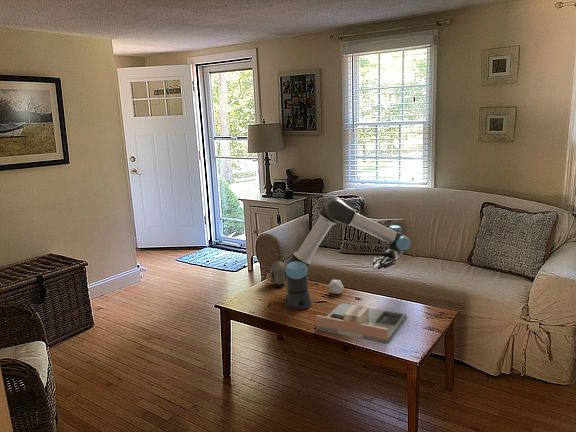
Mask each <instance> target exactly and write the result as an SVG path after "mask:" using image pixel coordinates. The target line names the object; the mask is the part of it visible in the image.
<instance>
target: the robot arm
mask: <svg viewBox="0 0 576 432" xmlns="http://www.w3.org/2000/svg"><path fill="white" fill-rule="evenodd" d="M319 210H320V211H319V212H318V216H319V217H318V218H317V220H316V221H315V223H314V225H313V226H312V228H311V229H310V231H309V233H308V234H307V236H306V237H305V239H304V241H303V242H302V244H301V245H300V247H299V248H298V250H297V251H294V252H293V253H292V255H291V256H290V257H289V258H288V259H287V260H286V261H285V263H284V264H285V272H286V279H287V281H286V295H285V300H284V306H285V308H287V309H289V310H291V311H292V310H293V311H301V310H307V309H309V308H311V307H312V305H313V299H312V297H311V294H310V292H309V285H308V284H309V283H308V281H309V279H308V268H309V267H310V266H311V259H312V257H313V256H314V254H315V252H316V251H317V250H318V248H319V246H320V245H321V243H322V241H323V240H324V238H325V237H326V235H327V234H328V232H329V231H330V230H331V228H332V226H334V225H336V224H337V223H340V224H342V225H344V226H347V227H349V226H351V227H353V228H356V229H358V230H360V231H362V232H364V233H366V234H369V235H370V236H372V237H375V238H377V239H379V240H381V241H383V242H386V243H387V249H386V250H385V251H384V252H383V253H381V256H379V257H375V256H374V257H373V261H372V272H373V273H376V272H378V271H379V270H381V269H383V268H384V269H387V268H390V267H392V266H395V265H397V260H398V259H399V258H400V257H402V255H403V253H404V251H406V250H408V249H409V248H410V246H411V241H410V239H409V238H408V236H406V235H404V233H403V231H402V226H399V225H390V226H388V227H387V226H386V225H384V224H383V225H382V224H381V223H378V222H377V221H375V220H373V219H371V218H369V217H366V216H364V215H362V214H361V213H358V212H357V211H356V209H354V208H352V207H351V206H349V205H348V204H347V203H346V202H344V201H343V199H342V198H340V197H339V196H335V195H331V196H328V197H327V198H325V199H324V202H323V203H322V208H321V209H319Z"/></svg>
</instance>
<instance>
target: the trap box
mask: <svg viewBox="0 0 576 432" xmlns="http://www.w3.org/2000/svg"><path fill="white" fill-rule="evenodd" d="M353 305H354V304H348V303H344V302H343V303H342V302H340V303H339V305H338V306H336V308H334V309H333V310H332V311H331V312H330V313H328V314H327V315H326V316H324V315H321V314H317V315H315V328H316V331H317V330H318V331H323V332H327V333H333V334H337V335H341V336H347V337H351V338H356V339H361V340H365V341H366V340H367V341H370V342H376V343H380V344H384V345H385V344H386V345H388V344H389V343H390V342H391V340H392V339H393V337H394V336H395V335H396V334H397V332H398V331H399V329H400V328H401V326H403V324H404V322H406V320H407V317H408V316H407V315H408V314H407V313H401V312H396V311H389V310H384V309H378V308H372V307H369V323H368V324H363V323H357V322H352V321H347V320H344V313H345V312H346V311H347V310H348V309H349V308H351V307H352V306H353Z"/></svg>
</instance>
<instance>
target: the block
mask: <svg viewBox="0 0 576 432" xmlns="http://www.w3.org/2000/svg"><path fill="white" fill-rule="evenodd" d="M352 305H353V306H352V307H351V308H349V309H348V310H347V311H346V312H345V313H344V320H347V321H352V322H357V323H363V324H368V323H369V308H370V307H369V306H365V305H364V306H363V305H358V304H352Z"/></svg>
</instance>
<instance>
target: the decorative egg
mask: <svg viewBox="0 0 576 432" xmlns="http://www.w3.org/2000/svg"><path fill="white" fill-rule="evenodd" d="M269 276H270V279H271V282H273V283H274V284H276V285H278V286H279V285H283V284H285V283H287V279H286V272H285V263H284V262H282V261H281V260H279V261H277V260H276V261H274V263H272V264H271V267H270V269H269Z"/></svg>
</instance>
